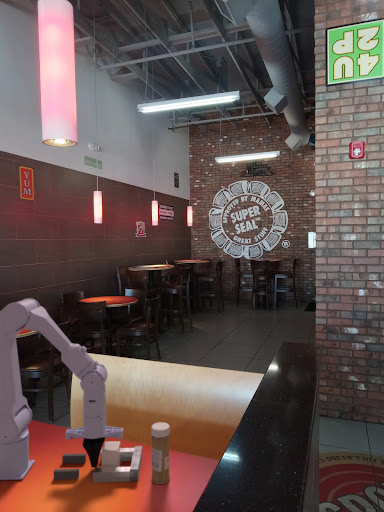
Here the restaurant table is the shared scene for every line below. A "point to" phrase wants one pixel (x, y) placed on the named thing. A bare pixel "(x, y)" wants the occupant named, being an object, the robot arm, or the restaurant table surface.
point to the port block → (121, 472)
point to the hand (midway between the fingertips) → (94, 465)
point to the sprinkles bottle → (160, 452)
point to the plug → (111, 454)
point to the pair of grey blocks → (69, 472)
